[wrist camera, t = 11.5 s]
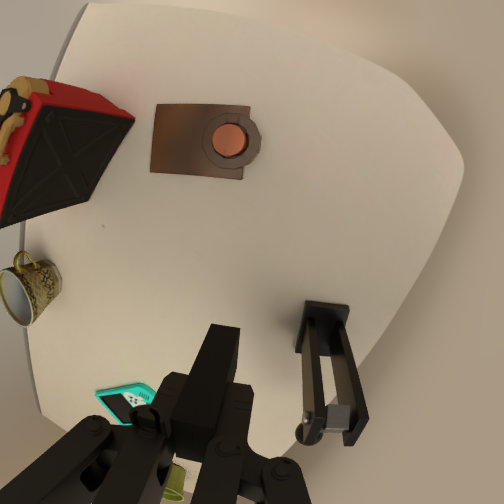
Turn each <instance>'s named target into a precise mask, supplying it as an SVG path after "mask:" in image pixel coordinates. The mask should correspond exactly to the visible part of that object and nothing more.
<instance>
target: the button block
mask: <svg viewBox="0 0 504 504" xmlns="http://www.w3.org/2000/svg"><path fill="white" fill-rule="evenodd" d="M250 109H251V108H250V106H236V105H217V104H157V106H156V114H155V122H154V131H153V141H152V152H151V164H150V172H154V173H170V174H184V175H196V176H208V177H218V178H228V179H238V180H242V179H243V170H244V166H245V165H248V164H250V163H251V162H252V161H253V160H254V158H255V157H256V156H257V154H258V153H259V151H260V145H261V135H260V133H259V131H258V128H257V126H256V124H255V123H254V122H253V121H252V120H250V119H249V117H250ZM225 124H234V125H236V126H238V127H239V128H241V129H242V130H243V131H244V133H245V135H246V138H247V134H248V136H249V142H248V148H247V149H246V146H245V148H244V150H243V151H242V152H241V153H239V154H238V155H235V156H224V155H222V154H220V153H218V152H217V151H216V150H215V148H214V146H213V143H212V138H213V134H214V132H215V131H216V130H217V129H218V128H219V127H220V126H222V125H225Z"/></svg>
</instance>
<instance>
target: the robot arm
mask: <svg viewBox="0 0 504 504" xmlns="http://www.w3.org/2000/svg"><path fill="white" fill-rule="evenodd" d="M239 336H240V328H236V327H230V326H223V325H217V324H211V325H210V328H209V330H208V332H207V335H206V337H205V339H204V341H203V344H202V346H201V348H200V350H199V353H198V355H197V357H196V360H195V362H194V364H193V366H192V369H191V371H190V373H189V375H186V374H182V373H177V372H173V371H172V372H171V373H170V374H169V375H167V376H166V377H165V378H164V379H163V381H162V383H161V385H160V387H159V389H158V391H157V394H155V396H154V398H153V400H152V402H151V404H150V405H146V404H143V405H138V406H136V407H133V408H132V409H131V410H130V411H129V412H128V413H129V417H130V420H131V423H132V425H112V424H110V423H109V421H108V420H107V419H106V418H104V417H102V416H98V415H92V416H87V417H86V418H84V419H83V420H81V421H80V422H79V423H78V424H77V425H76V426H75V427H73V428H72V429H71V430H70V431H69V432H68V433H66V434H65V435H64V436H63V437H62V438H61V439H60V440H58V441H57V442H56V443H55V444H54V445H53V446H51V447H50V448H49V449H48V450H47V451H46V452H44V454H42V455H41V456H40V457H39V458H37V459H36V460H35V461H34V462H33V463H32V464H30V465H29V466H28V467H27V468H26V469H25V470H23V471H22V472H21V473H20V474H19V475H17V476H16V477H15V478H14V479H13V480H12V481H10V482H9V483H8V484H7V485H6V486H4V487H3V488H2V489H1V490H0V504H91V503H92V504H160V501H161V499H162V496H163V493H164V490H165V487H166V485H167V482H168V479H169V476H170V474H171V471H172V468H173V461H172V459H173V456H174V453H176V457H179V458H183V459H187V460H191V461H196V462H200V463H202V466H201V469H200V472H199V476H198V479H197V483H196V486H195V490H194V493H193V497H192V500H191V503H190V504H236V501H237V496H238V495H240V496H242V497H245V498H247V499H249V500H252V501H254V502H255V504H312V503H311V500H310V498H309V494H308V491H307V487H306V484H305V481H304V478H303V474H302V471H301V468H300V467H299V465H298V463H296V462H295V461H294V460H292V459H289V458H287V457H275V458H271V459H268V458H266V457H263V456H261V455H259V454H257V453H255V452H254V451H253V450H252V449H251V448H250V447H249V445H248V442H247V437H248V430H249V424H250V418H251V411H252V405H253V398H254V392H253V390H252V387H251V385H247V384H240V383H233V381H234V377H235V373H236V369H237V358H238V347H239Z"/></svg>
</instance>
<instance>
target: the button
mask: <svg viewBox="0 0 504 504" xmlns="http://www.w3.org/2000/svg"><path fill="white" fill-rule="evenodd" d="M212 143H213V146H214V148H215V150H216V151H217V152H218V153H220V154H222V155H224V156H235V155H238V154H239V153H241V152H242V151H243V150H244V148H245V146H246V143H247V138H246V135H245V133H244V131H243V130H242V129H241V128H239V127H238V126H236V125H234V124H225V125H222V126H220V127H219V128H218V129H217V130H216V131H215V132H214V134H213V138H212Z"/></svg>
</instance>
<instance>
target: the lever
mask: <svg viewBox="0 0 504 504" xmlns="http://www.w3.org/2000/svg"><path fill="white" fill-rule="evenodd" d="M325 411H326V419H325V422H324V424H323V426H322V428H321V430H320V433H319V435H318V437H317V439H316V441H315V443H314V444H316V443H318V442H319V441H320V440H321V439H322V436H323V433H341V432H344V431H346V430H348V429H349V422H350V405H333V404H328V405H327V406H325ZM295 436H296V439H297V440H298V442H299V443H301V444H303V424H302V423H300V424H299V425H298V427H297V428H296V431H295ZM303 445H304V444H303ZM306 446H311V445H306Z"/></svg>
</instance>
